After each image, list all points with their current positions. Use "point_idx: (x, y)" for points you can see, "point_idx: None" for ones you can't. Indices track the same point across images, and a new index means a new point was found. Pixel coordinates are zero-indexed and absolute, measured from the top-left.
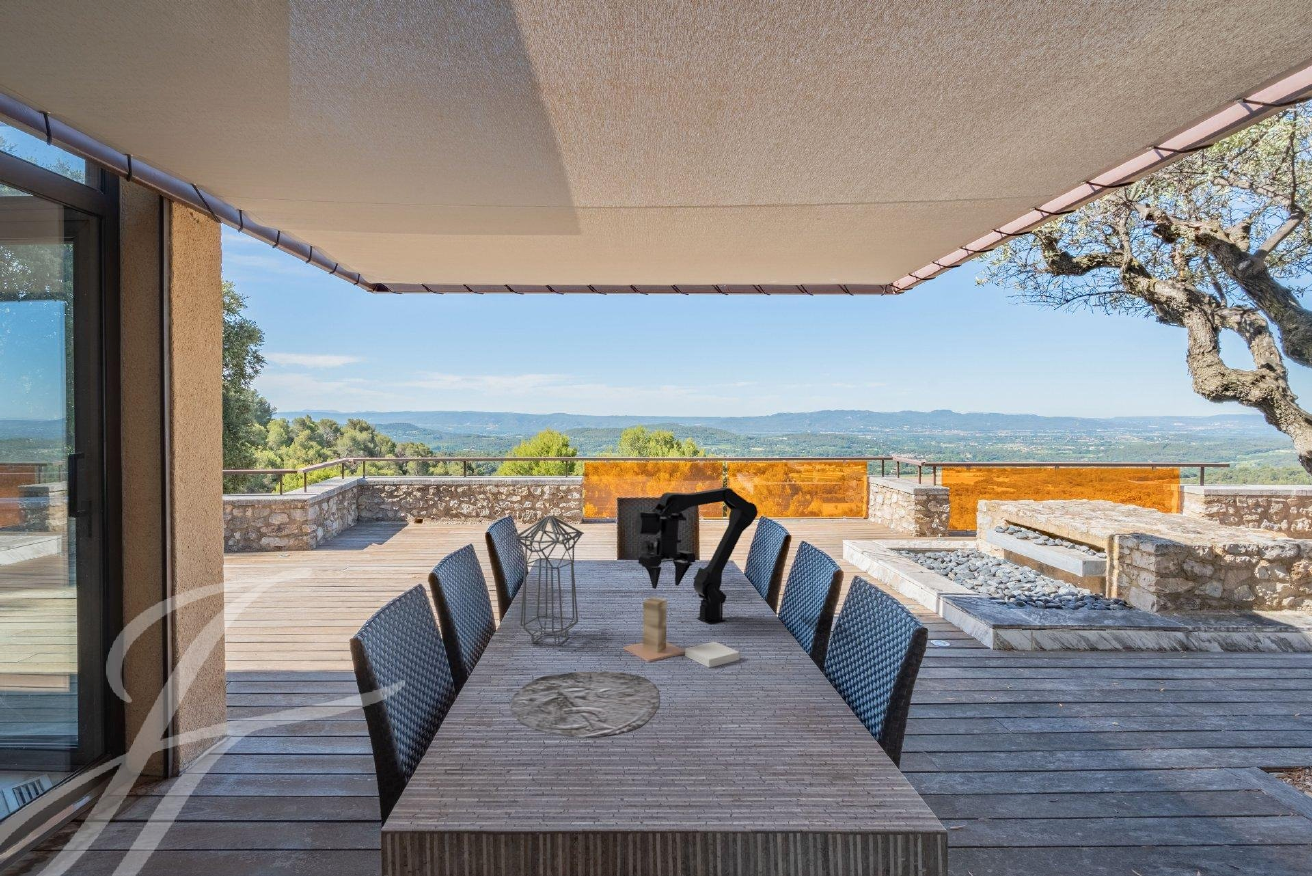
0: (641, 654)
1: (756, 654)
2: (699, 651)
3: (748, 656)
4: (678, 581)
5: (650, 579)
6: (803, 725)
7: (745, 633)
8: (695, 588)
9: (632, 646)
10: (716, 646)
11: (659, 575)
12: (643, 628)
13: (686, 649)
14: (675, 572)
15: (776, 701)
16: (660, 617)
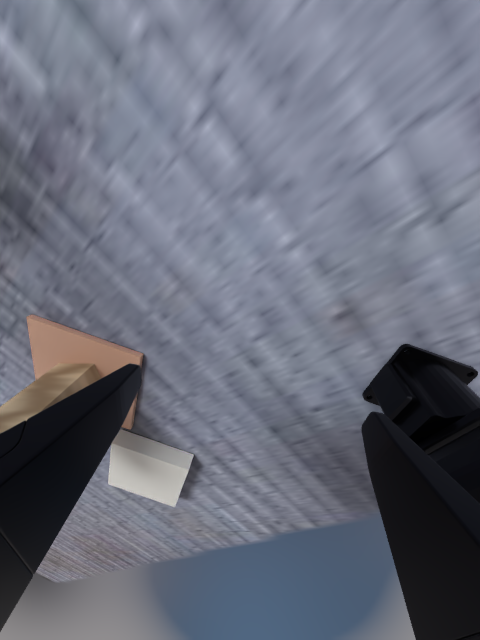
0: (40, 374)
1: (222, 503)
2: (122, 464)
3: (204, 497)
4: (369, 466)
5: (55, 405)
6: (89, 548)
7: (330, 472)
8: (471, 452)
9: (47, 333)
10: (167, 478)
11: (57, 534)
12: (6, 403)
13: (111, 445)
14: (459, 529)
15: (107, 533)
16: None
